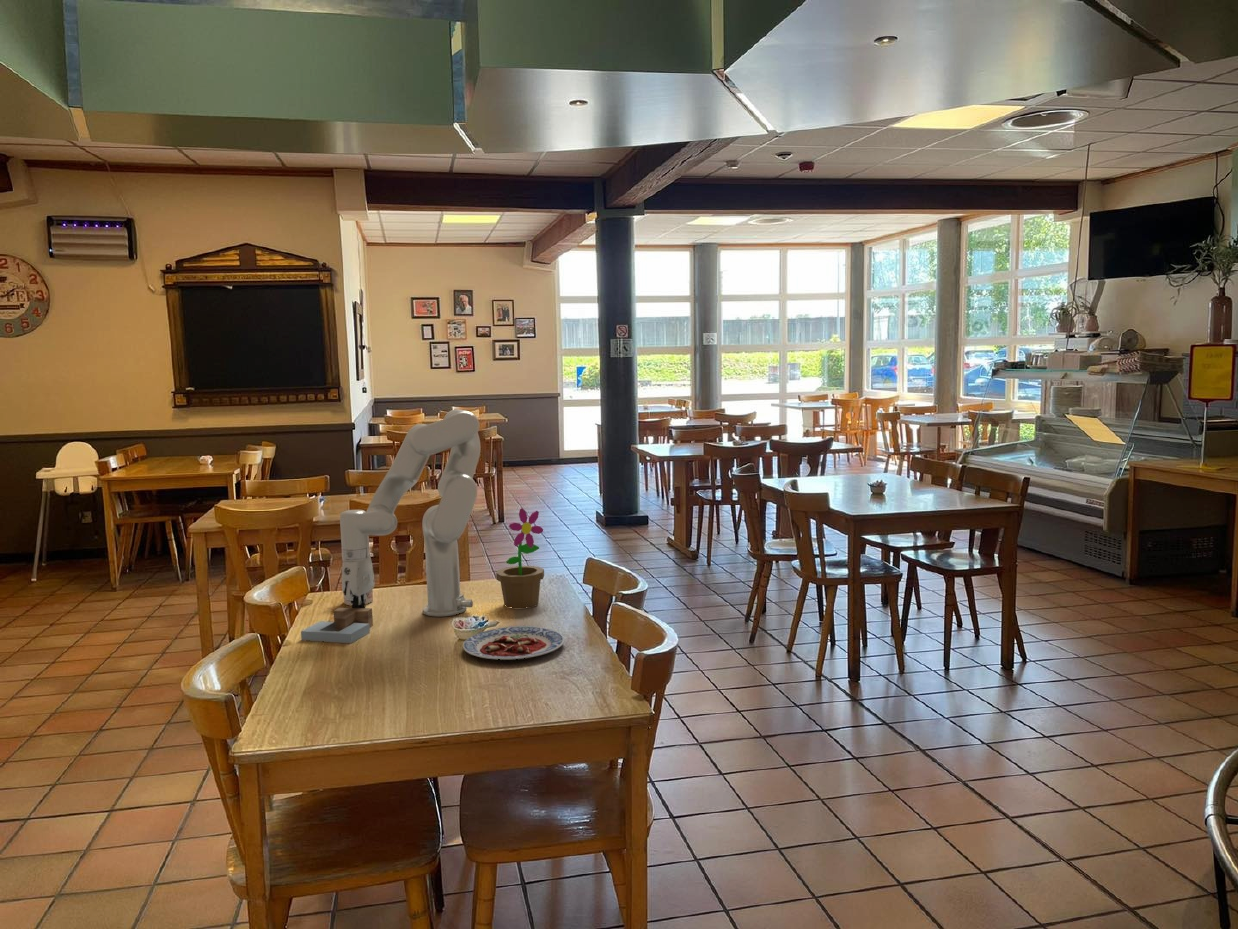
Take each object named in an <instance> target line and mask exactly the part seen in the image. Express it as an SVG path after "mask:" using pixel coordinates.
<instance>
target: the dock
mask: <svg viewBox="0 0 1238 929" xmlns="http://www.w3.org/2000/svg"><path fill="white" fill-rule="evenodd" d="M369 632H370V633H371V629H370V627H369V624H366V623H353V624H352V625H350V626H348V627H346V628H344V629H342V630H341V631H339V632H338V631H335V622H334V621H331V620H330V621H325V620H324V621H323V620H321V621H318V622H317V623H314V624H312V625H311V626H307V628H305V629H301V631H300V637H301V638H300V639H301V641H306V640H310V641H311V642H322V641H324V642H325V643H326V642H327V643H339V644H341V643H343V644H353V643H354V642H356V641H358V640H360V639H361V638H363V637H365V636H367V635H368V634H370V633H369ZM359 638H360V639H359Z"/></svg>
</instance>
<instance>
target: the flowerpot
mask: <svg viewBox="0 0 1238 929" xmlns="http://www.w3.org/2000/svg"><path fill="white" fill-rule="evenodd" d="M539 513H540V512H539V511H538V510H535V511H533V512H532V513H531V515H529V517H528V514H527V511H525V509H524V508H523V507H521V508H520V509H519V513H518V516H519V520H520V522H522V524H521V523H519V522H511V523H509V525H508V528H509V529H511V530H512V531H514V532H515V531H516V532H519V533H518V534H516V536H515V538H514V541H513V545H514V546H515V547H517V546H518V548H517V556H511V557H509V558H508V559H507V560H506V564H508V565H513V566H508V567H507V566H506V567H504V568H500V569H498V570H497V572H496V573H495V574H496V576H495V577H496V581H498V582H500V588H501V594H502V598H503V605H504V606H505V605H506V606H507V607H512V608H526V607H532V608H534V607H536V606H535V605H537V604H538V605H539V600H540V591H541V580H543V579H544V577H545V569H544V568H542V567H540V566H535V565H523V564H522V554H523V553H524V554H526V555H527V554H531V553H534V552H536V551H538V550H539V549H540V546H538V545H537V544H534V542H535V541H534V538H533V535H532V534H537V535H540V534H542V533H544V528H542V527H541V526H539V525H533V524H535V523H536V521H537V520H538V518H539ZM527 521H528V522H527ZM532 525H533V526H532ZM520 531H521V532H520ZM531 532H532V534H531ZM524 539H525V542H526V543H524V544H522V543H523V541H524ZM517 563H518V565H515V564H517ZM514 565H515V566H514ZM538 605H537V606H538ZM506 606H505V607H506ZM533 606H534V607H533ZM507 607H506V608H507ZM512 608H511V609H512ZM526 609H527V608H526Z"/></svg>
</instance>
